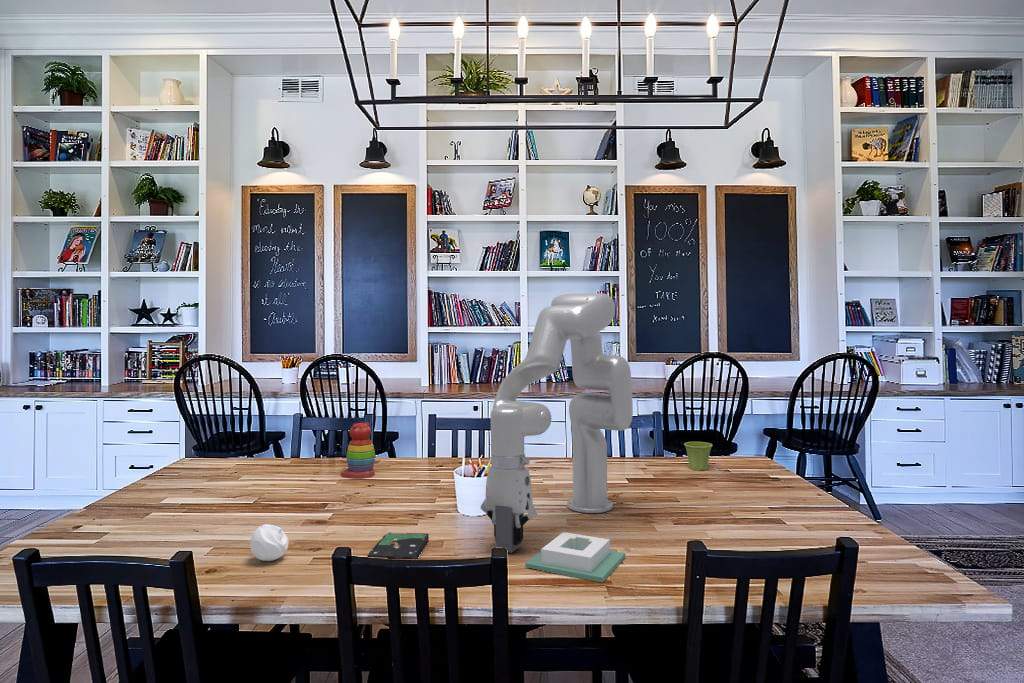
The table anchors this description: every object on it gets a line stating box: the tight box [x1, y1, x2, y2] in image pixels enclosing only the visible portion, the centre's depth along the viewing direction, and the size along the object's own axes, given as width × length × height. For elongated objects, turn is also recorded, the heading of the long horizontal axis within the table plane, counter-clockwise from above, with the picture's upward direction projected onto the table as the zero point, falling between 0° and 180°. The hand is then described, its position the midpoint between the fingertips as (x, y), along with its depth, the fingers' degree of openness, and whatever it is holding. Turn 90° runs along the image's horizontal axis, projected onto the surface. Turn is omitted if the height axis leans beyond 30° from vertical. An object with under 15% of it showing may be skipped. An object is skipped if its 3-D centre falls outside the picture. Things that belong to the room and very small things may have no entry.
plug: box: [495, 506, 523, 554], centre depth 146 cm, size 6×4×10 cm, turn 153°
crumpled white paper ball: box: [249, 523, 290, 562], centre depth 140 cm, size 8×8×8 cm
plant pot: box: [683, 441, 713, 472], centre depth 224 cm, size 9×9×9 cm
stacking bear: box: [340, 422, 376, 480], centre depth 216 cm, size 11×10×18 cm
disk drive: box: [366, 532, 430, 560], centre depth 144 cm, size 10×3×15 cm
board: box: [524, 531, 626, 584], centre depth 138 cm, size 15×17×4 cm
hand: (508, 541), depth 145 cm, fingers closed on plug, 4 cm apart
